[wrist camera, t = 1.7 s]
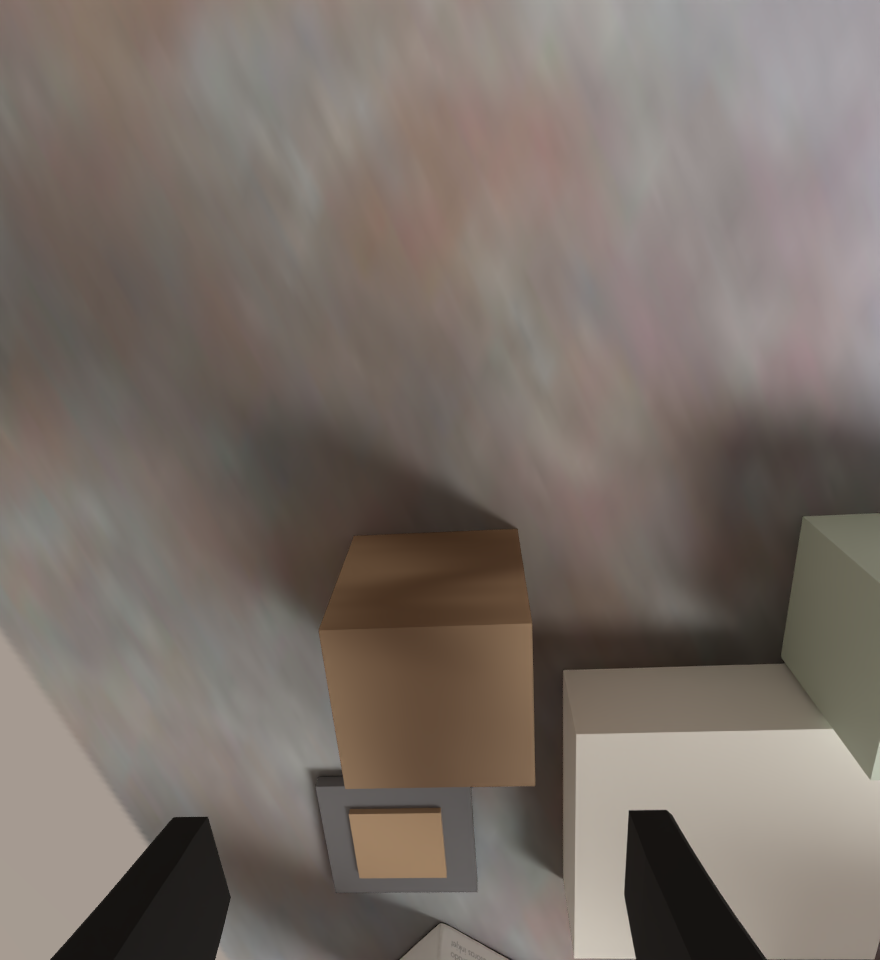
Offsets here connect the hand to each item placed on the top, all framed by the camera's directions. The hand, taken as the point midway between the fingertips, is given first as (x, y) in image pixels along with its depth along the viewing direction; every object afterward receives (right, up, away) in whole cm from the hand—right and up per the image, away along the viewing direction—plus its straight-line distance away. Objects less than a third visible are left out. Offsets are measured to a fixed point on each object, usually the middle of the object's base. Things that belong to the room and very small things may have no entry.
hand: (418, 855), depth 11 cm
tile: (-1, -5, +11) cm, 12 cm away
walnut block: (0, +3, +7) cm, 8 cm away
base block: (+9, -3, +10) cm, 14 cm away
